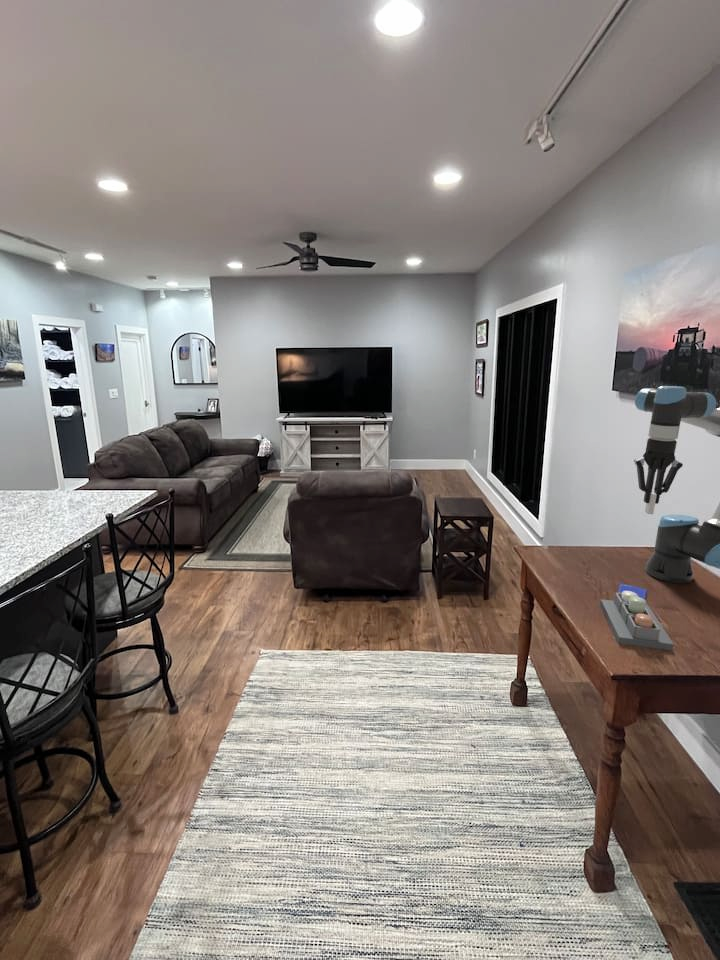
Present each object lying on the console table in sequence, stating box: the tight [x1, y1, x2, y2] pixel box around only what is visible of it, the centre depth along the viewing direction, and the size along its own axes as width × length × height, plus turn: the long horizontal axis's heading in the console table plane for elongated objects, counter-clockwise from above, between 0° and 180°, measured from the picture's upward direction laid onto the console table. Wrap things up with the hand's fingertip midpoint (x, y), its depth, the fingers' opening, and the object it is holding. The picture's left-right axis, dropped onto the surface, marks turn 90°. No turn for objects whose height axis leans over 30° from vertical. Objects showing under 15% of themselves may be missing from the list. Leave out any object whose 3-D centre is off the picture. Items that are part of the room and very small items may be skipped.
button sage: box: [628, 596, 647, 614], centre depth 144 cm, size 4×4×4 cm
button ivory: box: [621, 591, 638, 602], centre depth 152 cm, size 4×4×4 cm
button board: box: [599, 591, 674, 651], centre depth 146 cm, size 14×22×6 cm, turn 167°
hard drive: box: [618, 583, 648, 600], centre depth 164 cm, size 2×8×12 cm
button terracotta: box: [635, 614, 653, 628], centre depth 138 cm, size 4×4×4 cm
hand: (649, 512), depth 149 cm, fingers closed
